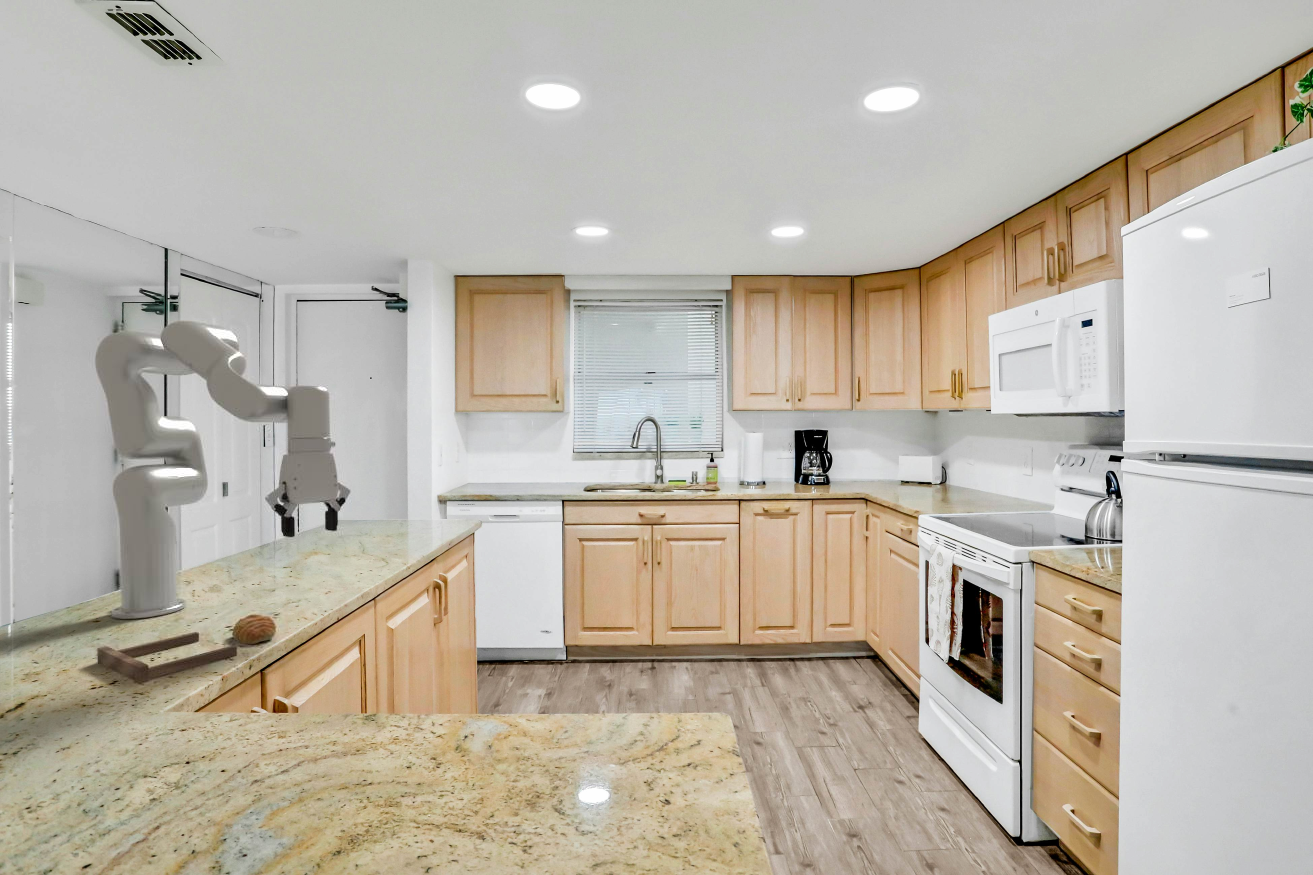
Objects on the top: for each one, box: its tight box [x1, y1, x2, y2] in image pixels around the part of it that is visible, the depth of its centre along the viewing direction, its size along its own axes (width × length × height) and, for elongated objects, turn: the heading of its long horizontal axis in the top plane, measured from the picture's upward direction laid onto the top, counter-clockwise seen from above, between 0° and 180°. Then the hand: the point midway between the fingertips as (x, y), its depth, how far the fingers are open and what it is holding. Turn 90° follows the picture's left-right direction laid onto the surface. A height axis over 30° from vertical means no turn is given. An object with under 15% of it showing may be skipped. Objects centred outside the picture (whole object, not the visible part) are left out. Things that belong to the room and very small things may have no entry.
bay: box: [96, 631, 238, 685], centre depth 109 cm, size 17×14×2 cm
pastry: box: [231, 613, 277, 645], centre depth 121 cm, size 9×7×4 cm
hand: (310, 532), depth 130 cm, fingers open, 8 cm apart
